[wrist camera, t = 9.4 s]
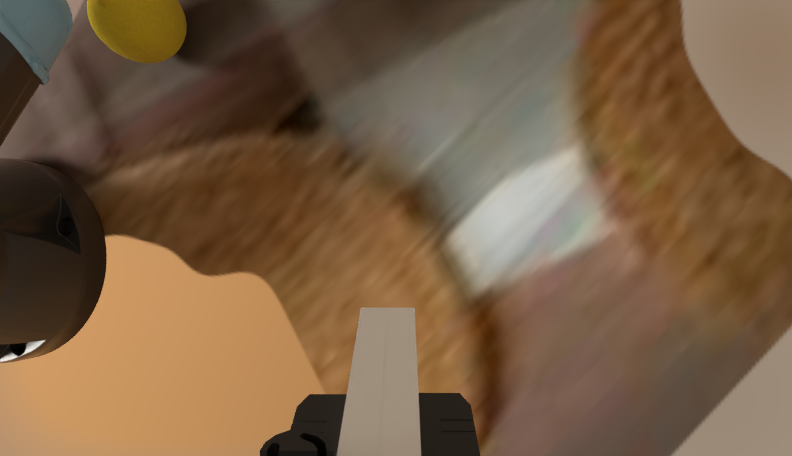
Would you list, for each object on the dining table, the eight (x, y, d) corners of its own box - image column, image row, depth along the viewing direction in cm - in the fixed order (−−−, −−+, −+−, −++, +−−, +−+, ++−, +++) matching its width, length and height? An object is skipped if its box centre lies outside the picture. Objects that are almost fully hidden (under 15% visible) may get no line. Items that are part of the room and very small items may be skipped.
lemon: (132, 71, 46) (53, 33, 38) (146, -2, 46) (70, -54, 38) (198, 81, 45) (131, 45, 37) (213, 7, 45) (148, -45, 37)
